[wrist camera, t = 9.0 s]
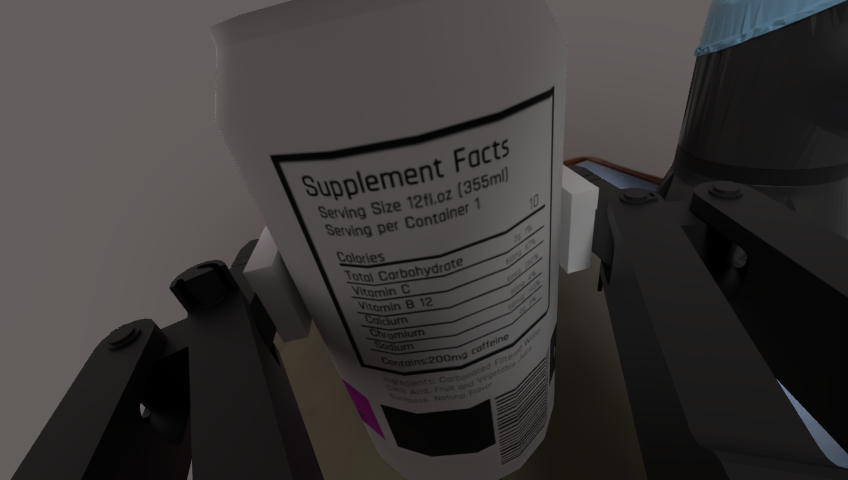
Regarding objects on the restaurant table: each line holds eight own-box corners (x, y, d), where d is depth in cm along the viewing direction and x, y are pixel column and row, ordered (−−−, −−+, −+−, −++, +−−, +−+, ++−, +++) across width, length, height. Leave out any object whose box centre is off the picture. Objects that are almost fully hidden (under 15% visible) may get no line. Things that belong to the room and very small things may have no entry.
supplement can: (331, 440, 15) (95, 55, 7) (425, 310, 21) (353, 15, 13) (516, 552, 11) (454, -69, 3) (569, 352, 16) (598, -46, 9)
